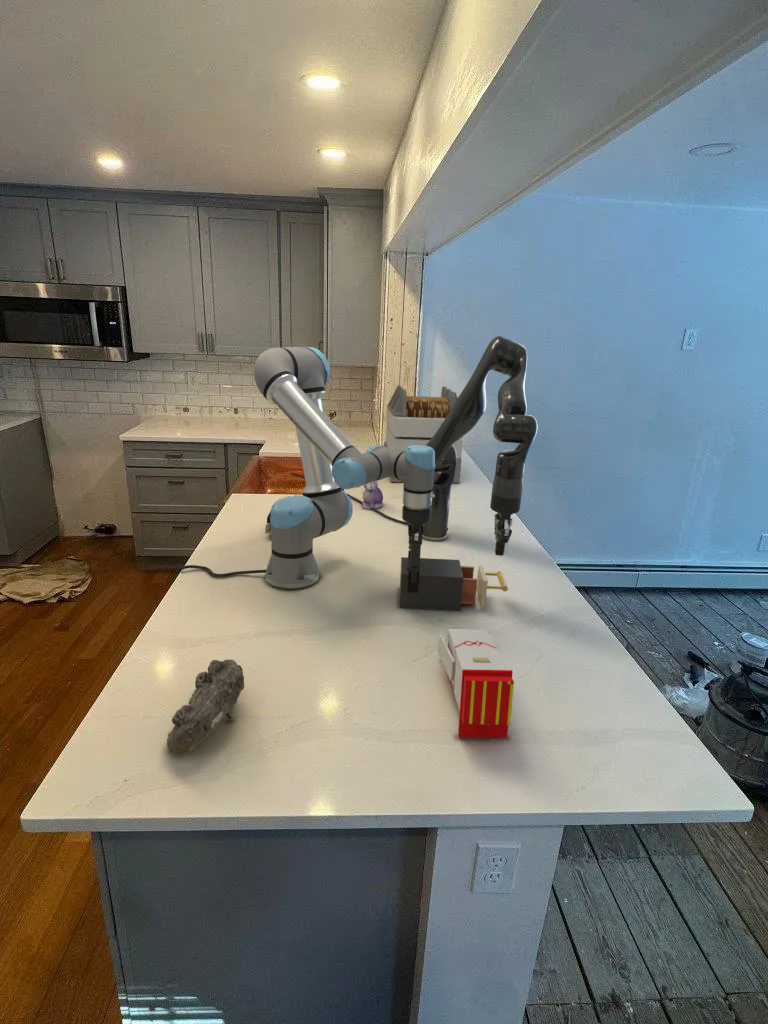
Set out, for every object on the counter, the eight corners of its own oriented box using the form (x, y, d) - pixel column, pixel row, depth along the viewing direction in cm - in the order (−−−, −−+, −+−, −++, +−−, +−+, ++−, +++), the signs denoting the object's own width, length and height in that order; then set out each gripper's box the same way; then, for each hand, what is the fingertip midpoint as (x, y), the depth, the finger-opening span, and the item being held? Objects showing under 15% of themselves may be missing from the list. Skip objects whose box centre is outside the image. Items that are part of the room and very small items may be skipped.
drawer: (500, 591, 160) (503, 565, 157) (505, 608, 150) (509, 582, 148) (427, 587, 160) (429, 562, 157) (428, 604, 151) (430, 578, 148)
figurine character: (285, 543, 190) (291, 523, 204) (284, 523, 187) (290, 504, 201) (265, 543, 190) (272, 522, 204) (263, 523, 187) (271, 503, 200)
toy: (488, 613, 130) (523, 677, 101) (484, 667, 133) (517, 744, 104) (435, 612, 130) (455, 676, 101) (432, 666, 133) (451, 743, 103)
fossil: (192, 660, 117) (244, 628, 112) (224, 691, 120) (276, 661, 115) (142, 746, 98) (202, 712, 93) (182, 779, 101) (242, 748, 96)
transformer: (382, 463, 289) (386, 382, 275) (445, 464, 293) (451, 384, 279) (390, 482, 257) (394, 392, 243) (460, 483, 261) (468, 394, 247)
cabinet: (456, 591, 161) (459, 559, 157) (460, 610, 150) (463, 577, 147) (399, 588, 161) (401, 557, 158) (399, 607, 151) (401, 574, 147)
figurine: (367, 511, 220) (368, 474, 215) (356, 503, 228) (357, 467, 223) (388, 508, 224) (390, 471, 219) (377, 500, 233) (378, 465, 228)
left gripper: (434, 522, 136) (427, 603, 143) (429, 492, 158) (424, 564, 165) (402, 520, 136) (398, 602, 143) (402, 491, 158) (398, 562, 165)
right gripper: (526, 501, 138) (517, 565, 144) (516, 485, 151) (508, 545, 157) (496, 499, 138) (488, 564, 144) (488, 483, 151) (481, 543, 157)
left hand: (412, 581), depth 154 cm, fingers closed on cabinet, 11 cm apart
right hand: (498, 554), depth 150 cm, fingers closed
